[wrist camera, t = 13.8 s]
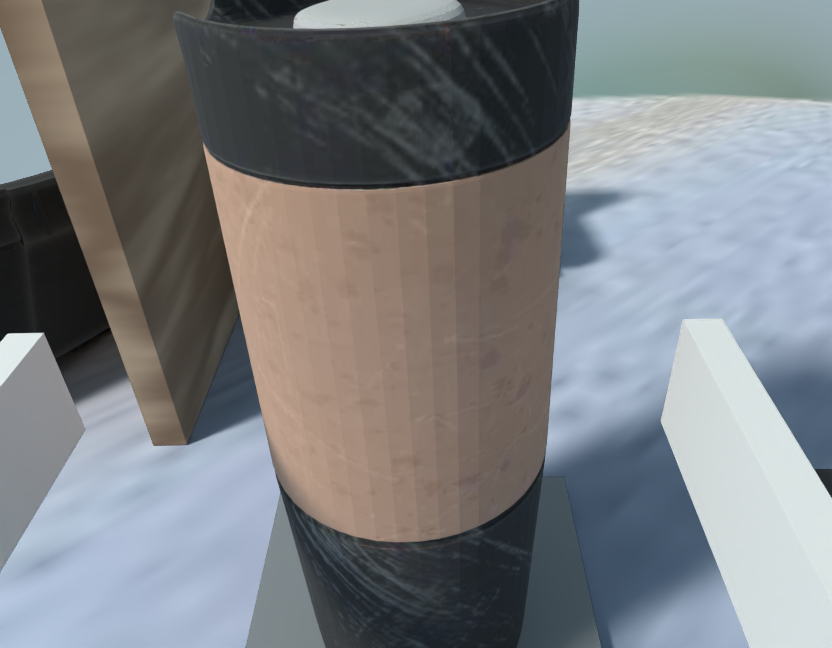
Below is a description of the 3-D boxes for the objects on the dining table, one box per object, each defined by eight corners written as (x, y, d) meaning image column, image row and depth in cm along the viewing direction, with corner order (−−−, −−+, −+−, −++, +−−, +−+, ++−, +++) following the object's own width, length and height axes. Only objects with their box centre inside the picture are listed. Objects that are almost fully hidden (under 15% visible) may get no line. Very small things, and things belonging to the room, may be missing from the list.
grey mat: (562, 486, 29) (563, 476, 29) (631, 809, 19) (634, 800, 19) (284, 491, 30) (282, 481, 29) (214, 810, 20) (210, 801, 20)
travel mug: (576, 613, 24) (673, -27, 12) (411, 780, 20) (330, 59, 8) (428, 491, 29) (400, -51, 17) (271, 605, 25) (98, -3, 13)
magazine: (247, 68, 54) (-163, 33, 27) (284, 70, 53) (-104, 36, 26) (252, 276, 60) (-85, 418, 33) (285, 281, 59) (-34, 431, 32)
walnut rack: (534, 221, 50) (554, -102, 38) (595, 435, 32) (667, -55, 20) (251, 231, 50) (187, -84, 39) (153, 445, 32) (-18, -23, 21)
